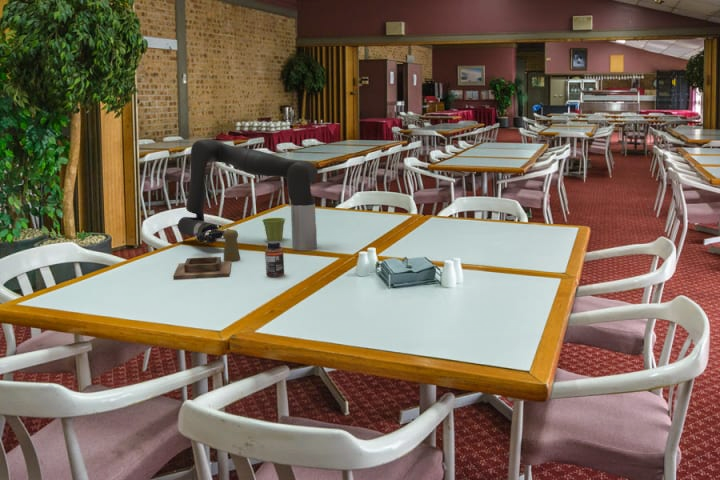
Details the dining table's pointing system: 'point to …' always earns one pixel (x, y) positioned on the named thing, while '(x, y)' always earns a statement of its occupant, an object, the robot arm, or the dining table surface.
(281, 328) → the dining table surface
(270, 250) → the supplement bottle
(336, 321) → the dining table surface
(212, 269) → the condiment stand
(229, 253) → the cork
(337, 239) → the dining table surface
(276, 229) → the plant pot
